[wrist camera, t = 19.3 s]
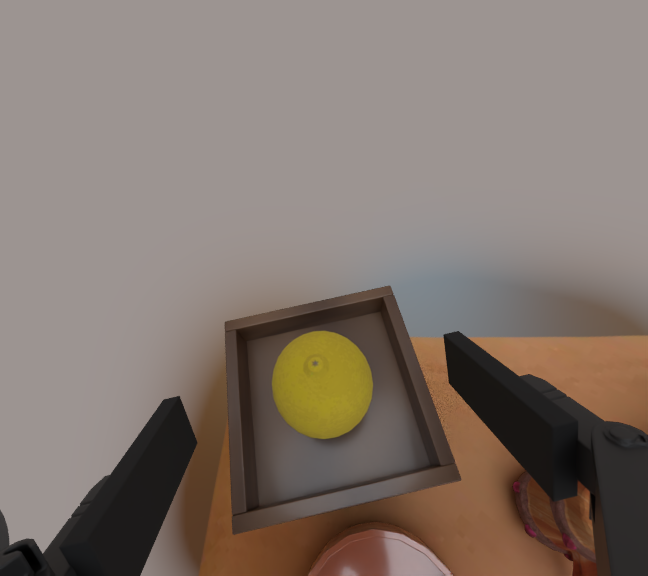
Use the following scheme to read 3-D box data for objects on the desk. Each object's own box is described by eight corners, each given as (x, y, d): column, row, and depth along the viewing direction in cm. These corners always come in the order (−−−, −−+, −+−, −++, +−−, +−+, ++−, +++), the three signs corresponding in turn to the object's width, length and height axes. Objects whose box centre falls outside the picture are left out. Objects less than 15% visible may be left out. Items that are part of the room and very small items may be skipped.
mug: (495, 462, 35) (559, 462, 24) (557, 460, 35) (651, 459, 24) (535, 611, 29) (645, 703, 18) (611, 611, 29) (772, 705, 18)
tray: (249, 524, 18) (232, 535, 15) (238, 336, 24) (224, 321, 21) (446, 477, 18) (462, 480, 16) (386, 303, 24) (390, 284, 22)
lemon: (381, 375, 21) (394, 332, 14) (350, 459, 19) (348, 457, 12) (309, 345, 22) (289, 293, 16) (272, 419, 20) (230, 397, 13)
